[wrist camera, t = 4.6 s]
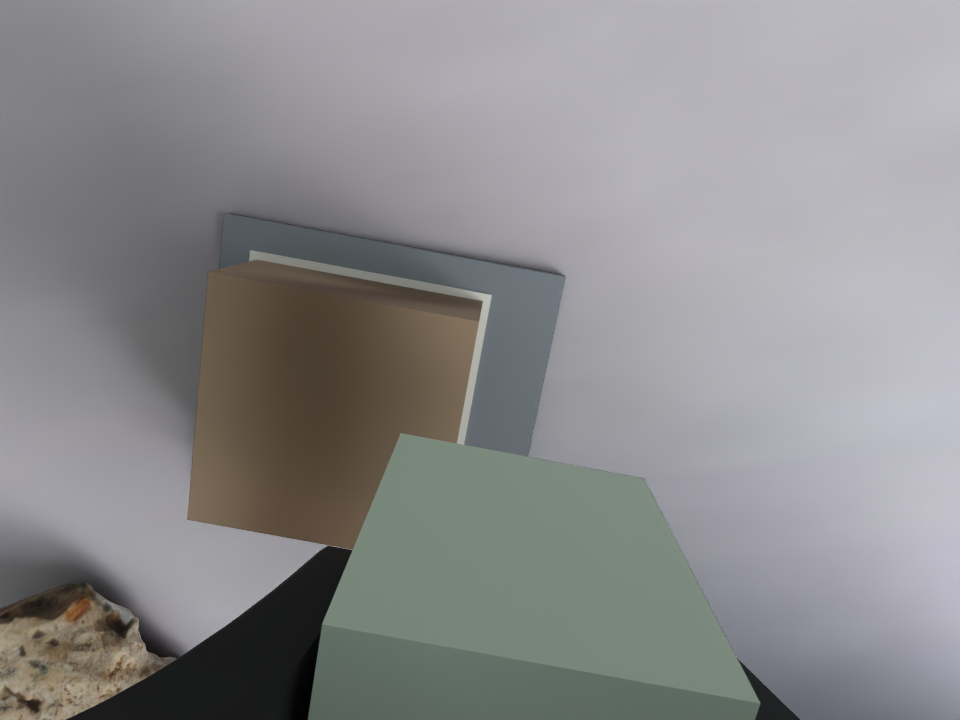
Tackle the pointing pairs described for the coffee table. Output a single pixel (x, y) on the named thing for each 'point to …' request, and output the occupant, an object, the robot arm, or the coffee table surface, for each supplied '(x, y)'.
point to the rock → (68, 653)
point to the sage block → (519, 600)
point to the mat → (503, 289)
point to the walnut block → (318, 394)
